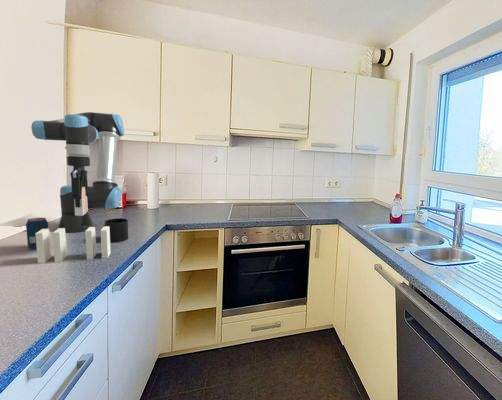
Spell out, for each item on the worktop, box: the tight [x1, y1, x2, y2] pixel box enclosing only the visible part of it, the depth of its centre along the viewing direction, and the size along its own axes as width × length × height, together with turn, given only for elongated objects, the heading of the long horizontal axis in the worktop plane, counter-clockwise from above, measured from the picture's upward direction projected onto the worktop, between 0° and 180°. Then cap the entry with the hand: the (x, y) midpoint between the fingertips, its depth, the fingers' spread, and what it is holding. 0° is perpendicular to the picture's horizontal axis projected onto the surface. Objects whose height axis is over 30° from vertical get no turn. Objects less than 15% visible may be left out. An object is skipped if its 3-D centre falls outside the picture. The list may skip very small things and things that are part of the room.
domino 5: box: [100, 225, 112, 259], centre depth 100 cm, size 2×6×11 cm, turn 20°
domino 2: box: [52, 227, 68, 263], centre depth 95 cm, size 2×6×11 cm, turn 19°
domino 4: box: [84, 226, 97, 261], centre depth 99 cm, size 2×6×11 cm, turn 20°
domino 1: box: [35, 228, 52, 264], centre depth 94 cm, size 2×6×11 cm, turn 19°
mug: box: [102, 217, 129, 243], centre depth 120 cm, size 9×12×9 cm
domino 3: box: [77, 187, 87, 216], centre depth 104 cm, size 2×6×11 cm, turn 20°
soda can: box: [25, 217, 49, 251], centre depth 105 cm, size 7×7×12 cm
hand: (81, 213), depth 105 cm, fingers closed on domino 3, 6 cm apart
